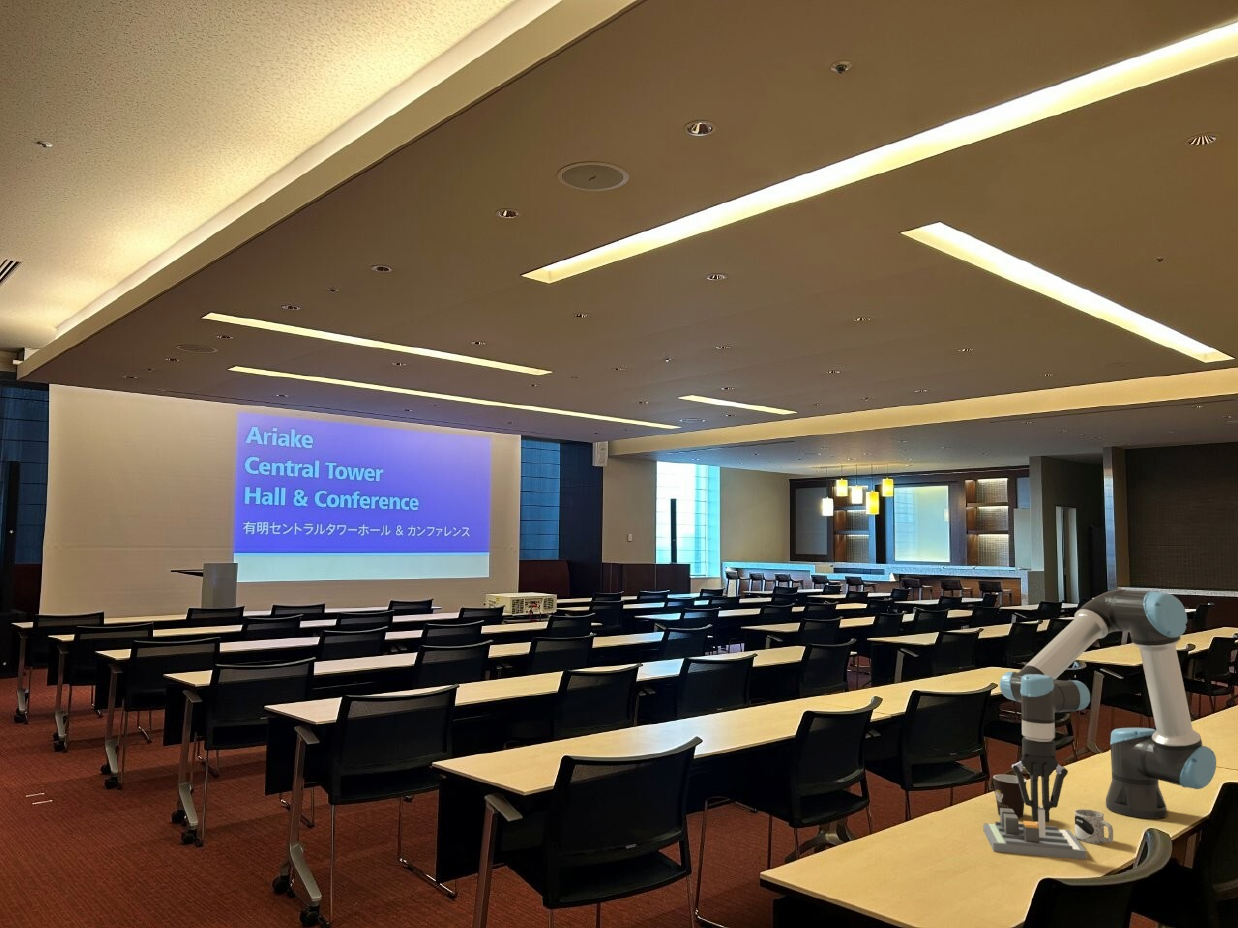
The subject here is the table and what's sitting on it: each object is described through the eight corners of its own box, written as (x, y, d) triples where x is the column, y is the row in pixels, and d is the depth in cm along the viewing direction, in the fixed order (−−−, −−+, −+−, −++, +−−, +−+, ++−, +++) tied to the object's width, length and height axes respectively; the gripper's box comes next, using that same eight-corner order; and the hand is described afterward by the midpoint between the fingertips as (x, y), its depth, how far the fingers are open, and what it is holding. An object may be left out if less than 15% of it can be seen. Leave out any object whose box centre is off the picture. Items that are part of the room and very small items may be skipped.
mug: (1069, 836, 231) (1068, 810, 232) (1087, 833, 234) (1086, 807, 234) (1103, 849, 222) (1102, 822, 222) (1122, 846, 225) (1121, 819, 225)
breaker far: (1012, 826, 232) (1012, 808, 233) (1015, 830, 229) (1014, 812, 230) (1000, 825, 233) (999, 807, 233) (1002, 829, 230) (1002, 811, 230)
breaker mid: (1016, 832, 227) (1015, 814, 228) (1018, 836, 224) (1018, 818, 225) (1003, 831, 228) (1003, 813, 228) (1006, 835, 225) (1005, 817, 225)
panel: (1069, 837, 230) (1069, 827, 230) (1086, 859, 215) (1086, 848, 215) (983, 830, 235) (983, 820, 235) (993, 851, 220) (993, 839, 220)
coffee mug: (1031, 821, 244) (1030, 783, 244) (997, 818, 245) (996, 781, 246) (1020, 808, 255) (1019, 772, 256) (988, 806, 257) (988, 770, 258)
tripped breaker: (1036, 840, 222) (1036, 821, 222) (1039, 844, 219) (1038, 825, 219) (1023, 839, 222) (1023, 820, 223) (1026, 843, 219) (1025, 824, 220)
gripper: (1063, 736, 224) (1065, 832, 222) (1007, 733, 227) (1009, 827, 225) (1070, 742, 217) (1073, 842, 215) (1013, 739, 220) (1015, 837, 218)
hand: (1041, 834), depth 220 cm, fingers closed
